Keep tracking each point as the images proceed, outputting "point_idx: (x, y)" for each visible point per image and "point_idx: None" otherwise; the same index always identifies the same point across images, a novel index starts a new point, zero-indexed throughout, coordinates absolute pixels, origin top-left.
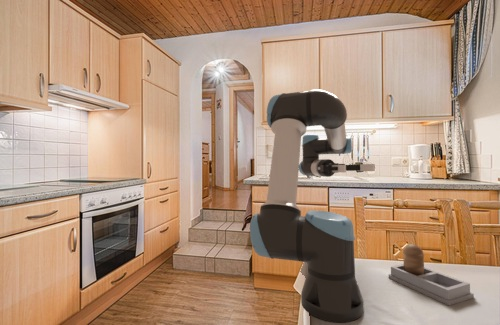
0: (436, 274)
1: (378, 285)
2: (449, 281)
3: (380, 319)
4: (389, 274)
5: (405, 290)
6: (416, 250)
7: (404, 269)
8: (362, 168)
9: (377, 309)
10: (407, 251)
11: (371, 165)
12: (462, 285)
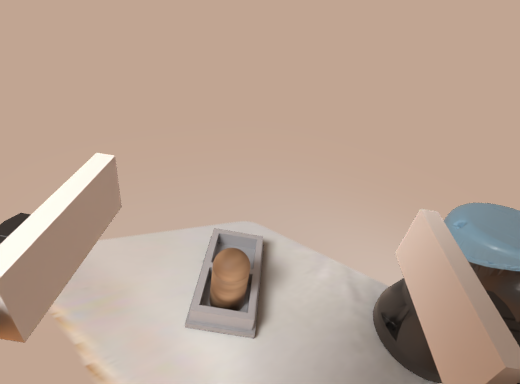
0: (212, 263)
1: (299, 332)
2: (214, 251)
3: (369, 278)
4: (253, 333)
5: (271, 297)
6: (241, 250)
7: (242, 299)
8: (43, 286)
9: (357, 291)
10: (249, 265)
11: (106, 177)
12: (230, 231)
